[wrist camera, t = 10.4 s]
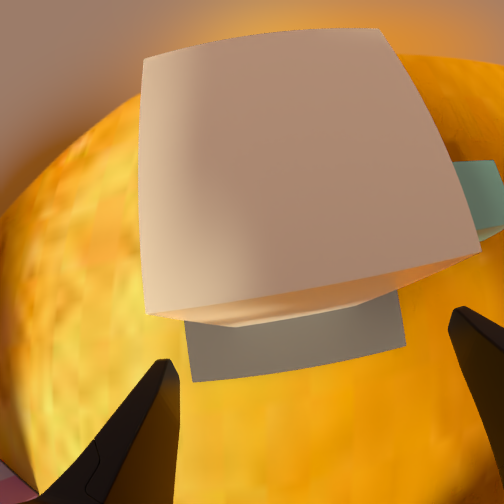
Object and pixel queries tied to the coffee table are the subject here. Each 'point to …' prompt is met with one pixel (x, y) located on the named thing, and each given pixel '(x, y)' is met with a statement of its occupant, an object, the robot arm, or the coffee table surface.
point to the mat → (294, 341)
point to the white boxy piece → (290, 178)
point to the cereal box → (14, 487)
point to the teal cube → (483, 195)
